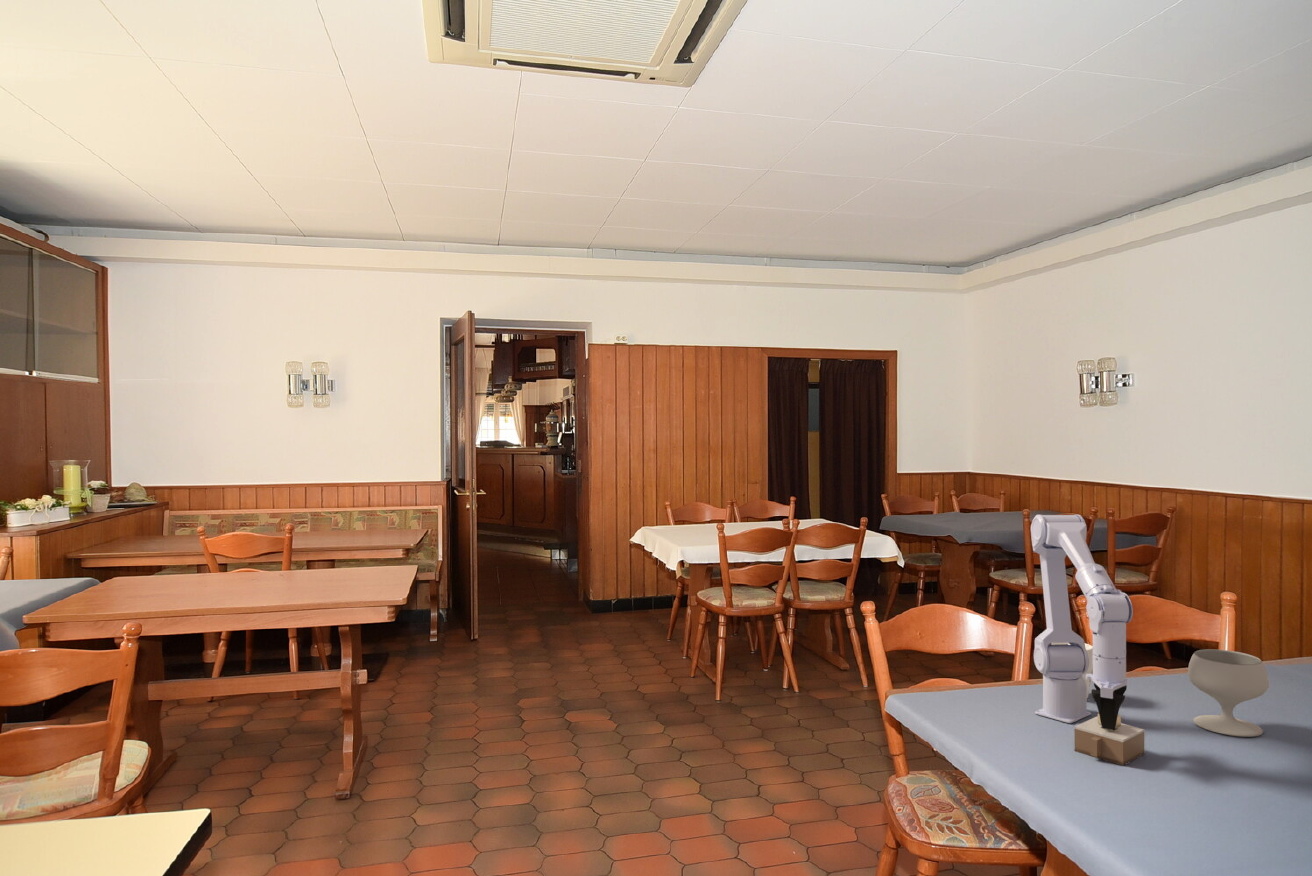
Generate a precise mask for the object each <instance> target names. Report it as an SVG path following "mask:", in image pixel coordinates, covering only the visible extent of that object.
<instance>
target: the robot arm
mask: <svg viewBox="0 0 1312 876" xmlns="http://www.w3.org/2000/svg"><path fill="white" fill-rule="evenodd" d="M1087 530H1088V529H1087V524H1086V520H1085V519H1084V518H1083V516H1082V515H1080V514H1036V515H1035V516H1034V518H1033V519H1032V521H1031V524H1030V536H1031V546H1032V551H1033V552H1034V553H1036V554H1038V555H1039V561H1040V572H1041V582H1042V590H1043V592H1042V593H1043V601H1044V602H1043V603H1044V610H1045V611H1044V613H1045V623H1046V629H1044V630H1043V631H1042V632H1041V633H1040V634H1038V636H1036V637H1035V638H1034V650H1033V662H1034V665H1035V667H1036V669H1037V671H1038V672H1040V673H1041V674H1042V708H1039V709H1038V710H1035V711H1034V714H1035V715H1037V716H1038V715H1039V716H1041V717H1045V718H1049V719H1052V720H1057V721H1058V722H1059V721H1060V722H1062V723H1063V722H1064V723H1067V724H1072V723H1075V722H1077V721H1079V720H1082V719H1083V718H1086V717H1088V716H1091V715H1092V712H1091V711H1088V708H1087V706H1088V705H1087V703H1088V702H1087V700H1088V698H1087V686H1086V682H1085V680H1084V678H1083V674H1084V673H1086V671H1087V669H1088V667H1089V656H1088V653H1087V651H1086V647H1085V643H1086V642H1085V639H1084V638H1083V637H1082V636H1080V635H1079V634H1078V633H1076V632H1075V631H1074V630H1072V620H1071V612H1070V601H1069V600H1070V599H1069V592H1068V582H1067V572H1066V571H1067V570H1066V562H1065V561H1066V560H1065V559H1066V557H1068V558H1069V560H1070V561H1071V563H1072V564H1073V566H1074V567H1075V569H1076V570H1077V571H1076V573H1075V577H1074V578H1075V580H1076V582H1077V583H1078V586H1079V588H1080V590H1081V591H1082V593H1083V595H1084V597H1085V599H1086V605H1085V609H1086V614H1087V617H1088V620H1089V621H1088V622H1089V625H1088V626H1089V630H1091V631H1092V647H1093V668H1092V674H1086V679H1088V680H1091V681H1092V682H1093V686H1094V687H1095V688H1093V689H1091V693H1090V694H1091V696H1092V699H1093V700H1094V702H1095V704H1096V707H1097V710H1098V712H1099V716H1100V721H1101V725H1102V728H1105V729H1111V730H1115V727H1116V722H1117V717H1118V714H1119V711H1120V708H1121V706H1122V704H1123V702H1125V699H1126V695H1124V694H1125V692H1126V691H1127V687H1128V679H1127V624H1129V623H1130V622H1131V621H1132V618H1133V613H1134V612H1133V611H1134V609H1133V604H1132V601H1131V599H1130V597H1129V595H1128V594H1127V593H1125V592H1123V591H1122V590H1121V589H1118V588H1117V587H1116V586H1115V585H1114V583H1113V581H1112V579H1111V578H1110V576H1109V574H1108V573H1107V571H1106V569H1105V568H1104V566H1103V565H1101V564H1098V563H1096V562H1095V561H1094V558H1093V556H1092V553H1091V551H1090V549H1089V546H1088V543H1087V541H1086V540H1087V532H1088V531H1087ZM1052 643H1070V644H1071V645H1052Z"/></svg>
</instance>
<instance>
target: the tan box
mask: <svg viewBox="0 0 1312 876" xmlns="http://www.w3.org/2000/svg"><path fill="white" fill-rule="evenodd" d="M1074 751H1075V752H1078V753H1080V754H1083V755H1087V756H1090V757H1094V758H1096V759H1099V760H1103V761H1106V762H1108V763H1113V764H1117V765H1119V766H1125V765H1127V764H1129V763H1131V762H1133V761H1135V760H1136V759H1138V758H1140V757H1141V756H1140V755H1142V756H1144V755H1145V729H1144V728H1140V727H1137V726H1133V725H1129V724H1125V723H1122V722H1121V727H1119V728H1115V730H1113V731H1111V730H1107V729H1105V728H1102V726H1101V725H1099V724H1098V716H1094V717H1092V718H1091V719H1088V720H1086V721H1083V722H1081V723H1080V724H1077V725H1075V726H1074ZM1139 756H1140V757H1139ZM1137 757H1138V758H1137ZM1128 762H1129V763H1128ZM1126 763H1127V764H1126Z"/></svg>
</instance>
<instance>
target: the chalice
mask: <svg viewBox="0 0 1312 876" xmlns="http://www.w3.org/2000/svg"><path fill="white" fill-rule="evenodd" d="M1187 677H1188V679H1189V680H1190V683H1191V684H1192V685H1193V686H1194V687H1196V688H1197V689H1198V690H1200V691H1201V692H1203V693H1205V694H1206V695H1208V696H1209V697H1211V698H1212V699H1214V700H1215V701H1216V702H1217V703H1218V704H1219V705H1220V707H1221V710H1222V711H1221V714H1220V715H1219V714H1218V715H1217V714H1204V715H1197V716H1196V717H1194V718H1193V719H1192V722H1193V724H1195V725H1196V726H1197V727H1200V728H1201V729H1204V730H1206V731H1210V732H1214V733H1217V734H1222V735H1227V736H1233V737H1243V738H1246V737H1258V736H1261V735H1263V734H1264V730H1263V729H1262V728H1261V727H1260V726H1258V725H1257V724H1255V723H1253V722H1252V721H1251V722H1250V721H1248V720H1244V719H1241V718H1238V717H1235V716H1234V712H1233V711H1234V709H1235V708H1236V706H1237V705H1239V704H1241V703H1244V702H1245V701H1246V702H1247V701H1250V700H1254V699H1256V698H1259V697H1262V696H1263V695H1264V694H1265V693H1266V692H1267V691H1268V689H1269V686H1270V681H1269V676H1268V671H1267V668H1266V666H1265V664H1264V663H1263V661H1262V660H1261V659H1260V658H1259V657H1257V656H1254V655H1251V654H1248V653H1244V652H1240V651H1235V650H1226V649H1217V648H1216V649H1214V648H1213V649H1210V648H1208V649H1207V648H1205V649H1199V650H1196V651H1194V652H1193V654H1192V656H1191V658H1190V660H1189V663H1188V668H1187Z"/></svg>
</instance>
